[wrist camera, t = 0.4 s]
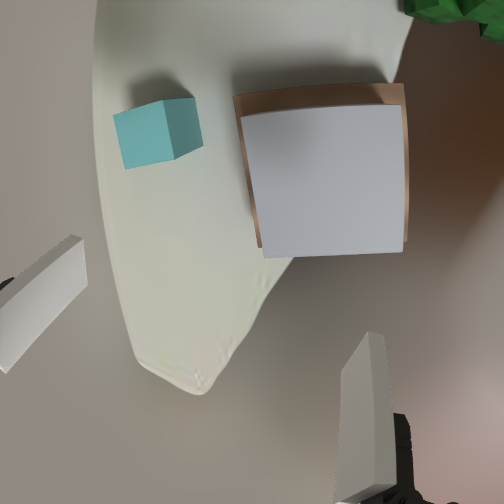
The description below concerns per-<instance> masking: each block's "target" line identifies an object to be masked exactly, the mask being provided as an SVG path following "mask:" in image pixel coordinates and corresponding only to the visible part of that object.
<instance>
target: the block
mask: <svg viewBox="0 0 504 504" xmlns="http://www.w3.org/2000/svg"><path fill="white" fill-rule="evenodd" d="M113 116H114V121H115V126H116V131H117V136H118V140H119V145H120V149H121V153H122V158H123V162H124V166H125V170H126V169H130V168H135V167H139V166H144V165H149V164H154V163H159V162H164V161H169V160H175V159H177V158H179V157H181V156H183V155H185V154H187V153H189V152H191V151H193V150H195V149H197V148H199V147H202V146H203V140H202V135H201V130H200V124H199V119H198V113H197V108H196V103H195V98H179V99H166V100H160V101H157V102H153V103H150V104H147V105H143V106H140V107H137V108H134V109H131V110H128V111H125V112H122V113H119V114H116V115H113Z"/></svg>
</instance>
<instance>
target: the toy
mask: <svg viewBox="0 0 504 504" xmlns="http://www.w3.org/2000/svg"><path fill="white" fill-rule="evenodd" d="M404 3H405V14H406V15H409V16H412V17H415V18H417V19H420V20H423V21H426V22H429V23H431V24H434V25H436V24H441V23H448V22H454V21H462V20H471V21H476V22H479V27H480V38H481V39H486V40H488V41H492V42H495V43H498V44H501V45H504V0H404Z"/></svg>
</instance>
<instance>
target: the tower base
mask: <svg viewBox="0 0 504 504" xmlns="http://www.w3.org/2000/svg"><path fill="white" fill-rule="evenodd" d="M233 100H234V106H235V112H236V118H237V124H238V130H239V135H240V141H241V147H242V153H243V159H244V165H245V171H246V177H247V183H248V189H249V195H250V201H251V207H252V213H253V219H254V225H255V231H256V237H257V244H258V248H262V242H261V236H260V230H259V224H258V218H257V212H256V206H255V200H254V194H253V188H252V182H251V176H250V170H249V164H248V159H247V153H246V147H245V141H244V136H243V130H242V124H241V118H240V117H244V116H247V115H251V114H255V113H261V112H268V111H276V110H284V109H293V108H303V107H315V106H328V105H344V104H372V103H386V104H395V105H401V113H402V126H403V141H404V166H405V210H404V235H403V241H407V230H408V208H409V157H408V156H409V153H408V132H407V117H406V105H405V95H404V86H403V84H401V83H355V84H332V85H317V86H305V87H295V88H286V89H278V90H270V91H263V92H256V93H249V94H243V95H237V96H233Z"/></svg>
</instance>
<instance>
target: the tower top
mask: <svg viewBox="0 0 504 504" xmlns="http://www.w3.org/2000/svg"><path fill="white" fill-rule="evenodd" d="M240 118H241V124H242V130H243V136H244V141H245V147H246V153H247V159H248V164H249V170H250V176H251V182H252V188H253V194H254V200H255V206H256V212H257V218H258V224H259V230H260V236H261V242H262V248H263V254H264V258H279V257H299V256H300V257H302V256H324V255H344V254H345V255H346V254H369V253H389V252H402V251H403V235H404V210H405V166H404V141H403V126H402V113H401V105H395V104H386V103H372V104H344V105H328V106H315V107H303V108H293V109H284V110H276V111H268V112H261V113H255V114H251V115H247V116H244V117H240Z"/></svg>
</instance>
